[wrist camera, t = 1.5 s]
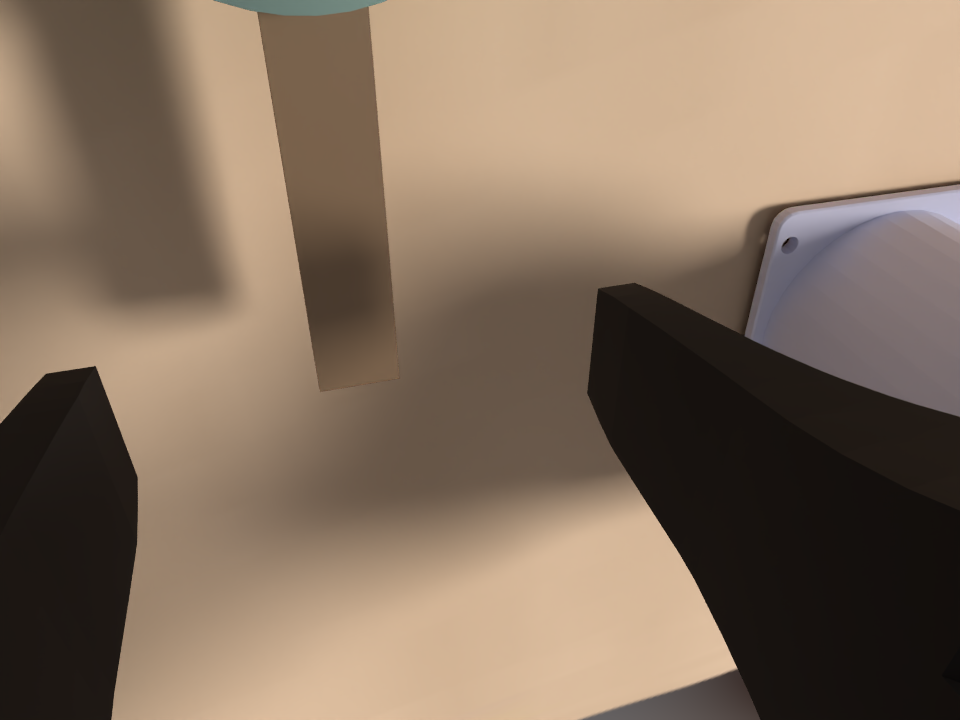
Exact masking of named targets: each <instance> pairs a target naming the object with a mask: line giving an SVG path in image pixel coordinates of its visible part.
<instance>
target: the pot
mask: <svg viewBox="0 0 960 720" xmlns="http://www.w3.org/2000/svg"><path fill="white" fill-rule="evenodd" d="M214 1H218V2H221V3H225V4H228V5H232V6H236V7H239V8H243V9H246V10H250V11H257V13H258V19H259V25H260V31H261V37H262V43H263V49H264V55H265V61H266V67H267V74H268V80H269V86H270V92H271V98H272V104H273V110H274V116H275V122H276V128H277V134H278V141H279V147H280V153H281V159H282V165H283V171H284V177H285V183H286V189H287V195H288V202H289V208H290V214H291V220H292V226H293V232H294V238H295V244H296V250H297V256H298V262H299V269H300V275H301V281H302V287H303V293H304V299H305V305H306V311H307V317H308V323H309V330H310V336H311V342H312V348H313V354H314V360H315V366H316V371H317V377H318V383H319V388H320V392H322V391H328V390H334V389H340V388H346V387H352V386H358V385H364V384H370V383H375V382H381V381H387V380H393V379H399V378H400V377H399V366H398V354H397V342H396V330H395V318H394V306H393V294H392V282H391V270H390V258H389V246H388V234H387V222H386V211H385V199H384V187H383V175H382V163H381V151H380V139H379V127H378V115H377V103H376V91H375V79H374V68H373V56H372V44H371V32H370V20H369V8H368V6H371V5H375V4H379V3H382V2H384V1H386V0H214Z"/></svg>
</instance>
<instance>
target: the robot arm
mask: <svg viewBox="0 0 960 720" xmlns="http://www.w3.org/2000/svg"><path fill="white" fill-rule="evenodd" d="M788 238H790V239H789V241H788V243H787V244H785V245H784V246H783V247H782V245H783V243H784V241H786V240H787V239H788ZM587 394H588V396H589V398H590V401H591V403H592V405H593V408H594V410H595V412H596V415H597V417H598V419H599V422H600V424H601V426H602V428H603V430H604V432H605V434H606V436H607V439H608V441H609V443H610V445H611V447H612V448H613V450H614V452H615V453H616V455H617V457H618V458H619V460H620V461H621V463H622V465H623V466H624V468H625V469H626V471H627V472H628V474H629V476H630V477H631V479H632V480H633V482H634V484H635V485H636V487H637V488H638V490H639V491H640V493H641V495H642V496H643V498H644V499H645V501H646V502H647V504H648V505H649V507H650V509H651V510H652V512H653V513H654V515H655V516H656V518H657V519H658V521H659V523H660V524H661V526H662V527H663V529H664V530H665V532H666V533H667V535H668V537H669V538H670V540H671V541H672V543H673V544H674V546H675V548H676V549H677V551H678V552H679V554H680V555H681V557H682V559H683V561H684V562H685V564H686V566H687V567H688V569H689V571H690V573H691V574H692V576H693V578H694V580H695V581H696V583H697V585H698V587H699V589H700V591H701V593H702V595H703V597H704V599H705V602H706V604H707V606H708V608H709V610H710V612H711V614H712V616H713V618H714V620H715V622H716V624H717V626H718V628H719V630H720V632H721V634H722V636H723V638H724V640H725V642H726V644H727V647H728V649H729V651H730V653H731V655H732V657H733V659H734V662H735V664H736V666H737V668H738V670H739V672H740V675H741V676H742V679H743V681H744V683H745V685H746V687H747V689H748V692H749V694H750V696H751V699H752V701H753V703H754V705H755V708H756V710H757V712H758V715H759V717H760V719H761V720H960V184H958V185H951V186H944V187H936V188H929V189H921V190H914V191H906V192H899V193H892V194H884V195H877V196H869V197H862V198H855V199H847V200H840V201H832V202H825V203H817V204H810V205H803V206H795V207H790V208H787V209H784V210H783V211H781V212H780V213H779V214H778V215H777V216H776V217H775V219H774V220H773V222H772V225H771V228H770V232H769V236H768V240H767V245H766V249H765V253H764V257H763V261H762V265H761V269H760V273H759V277H758V282H757V286H756V290H755V294H754V298H753V302H752V306H751V310H750V315H749V319H748V323H747V327H746V331H745V335H744V336H743V335H741V334H739V333H737V332H735V331H733V330H731V329H729V328H727V327H725V326H723V325H721V324H719V323H717V322H715V321H713V320H711V319H709V318H707V317H705V316H703V315H701V314H699V313H697V312H695V311H693V310H691V309H689V308H687V307H685V306H683V305H681V304H679V303H678V302H676V301H673V300H671V299H669V298H667V297H665V296H663V295H661V294H659V293H657V292H655V291H653V290H650V289H648V288H646V287H643V286H641V285H638V284H636V283H631V284H625V285H618V286H612V287H605V288H599V289H598V294H597V304H596V314H595V323H594V333H593V343H592V353H591V363H590V372H589V382H588V392H587ZM137 522H138V477H137V474H136V472H135V469H134V467H133V464H132V461H131V459H130V456H129V453H128V451H127V448H126V445H125V443H124V440H123V437H122V435H121V432H120V429H119V427H118V424H117V421H116V419H115V416H114V413H113V411H112V408H111V406H110V403H109V400H108V398H107V395H106V392H105V390H104V387H103V384H102V382H101V379H100V376H99V374H98V371H97V368H96V366H94V367H87V368H81V369H74V370H68V371H61V372H55V373H48V374H45V375H44V377H43V378H42V379H41V380H40V381H39V382H38V383H37V384H36V385H35V386H34V387H33V388H32V389H31V390H30V391H29V392H28V393H27V395H26V396H25V397H24V398H23V399H22V400H21V401H20V402H19V403H18V405H17V406H16V407H15V408H14V409H13V410H12V411H11V413H10V414H9V415H8V416H7V417H6V418H5V419H4V420H3V422H2V423H1V424H0V720H111V717H112V708H113V699H114V691H115V684H116V678H117V671H118V665H119V658H120V652H121V646H122V639H123V633H124V626H125V620H126V614H127V607H128V601H129V594H130V588H131V581H132V574H133V567H134V561H135V553H136V546H137Z"/></svg>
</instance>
